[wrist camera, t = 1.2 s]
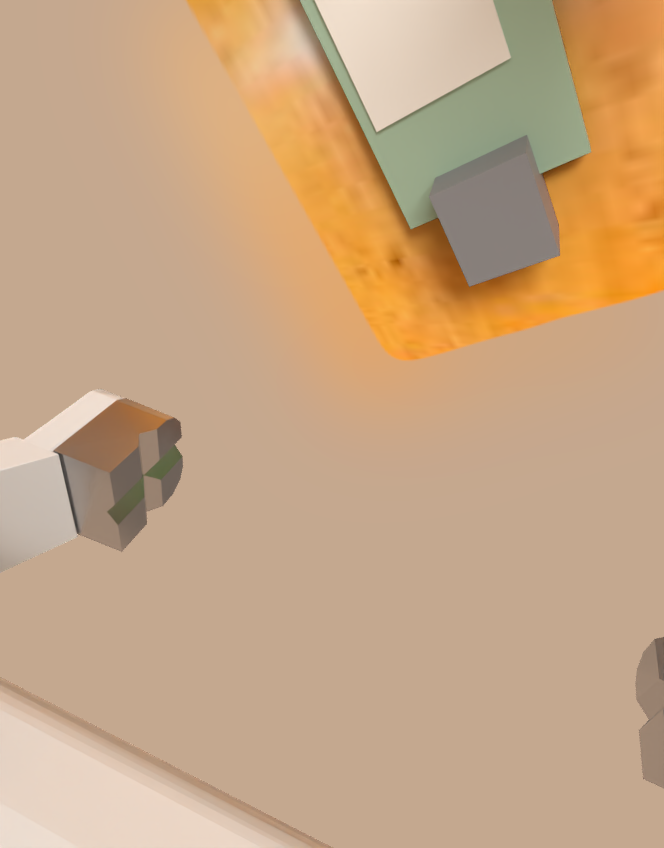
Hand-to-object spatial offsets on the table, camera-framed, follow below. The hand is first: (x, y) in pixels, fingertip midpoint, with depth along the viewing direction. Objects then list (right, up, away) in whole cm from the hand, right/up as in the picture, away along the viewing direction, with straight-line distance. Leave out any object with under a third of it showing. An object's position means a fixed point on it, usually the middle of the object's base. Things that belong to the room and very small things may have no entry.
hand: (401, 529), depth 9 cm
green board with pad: (+7, +26, +30) cm, 40 cm away
